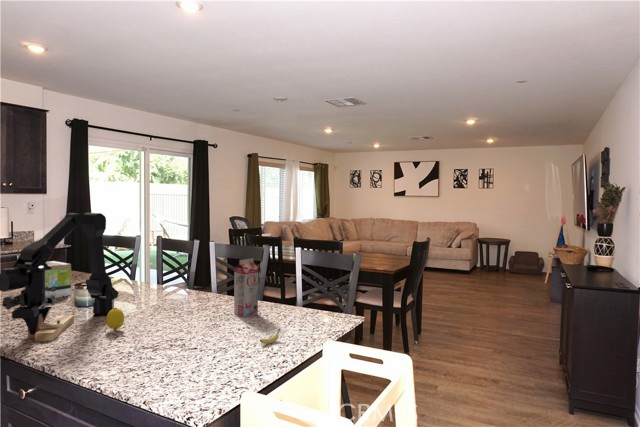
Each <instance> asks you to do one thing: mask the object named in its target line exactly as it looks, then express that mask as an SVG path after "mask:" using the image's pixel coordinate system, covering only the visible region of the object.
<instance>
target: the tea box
mask: <svg viewBox="0 0 640 427" xmlns="http://www.w3.org/2000/svg"><path fill="white" fill-rule="evenodd" d="M46 264H47V265H48V266H50V267H51V268H52V269H51V270H45V287H47V286H48V290H46V291H45V295H46V296H52V295H53V296H54V297H55V298H56V299H58V298H63V296H64V297H68V295H69V296H72V264H71V263H67V262H62V261H57V260H52V261H47V262H46Z"/></svg>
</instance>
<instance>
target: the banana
mask: <svg viewBox="0 0 640 427" xmlns="http://www.w3.org/2000/svg"><path fill="white" fill-rule="evenodd" d="M280 332H281V328H280V327H279V328H278V330H277V333H275V334H274V335H273V336H271V337H268V338H261V339H260V338H259V342H260V343H261V344H263V345H269V344H272V343H274V342H275V343H276V342H277V340H278V339H279V337H280V336H279V333H280Z"/></svg>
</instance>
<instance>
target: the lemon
mask: <svg viewBox="0 0 640 427" xmlns="http://www.w3.org/2000/svg"><path fill="white" fill-rule="evenodd" d="M124 322H125V314H124V311H122V310H121V309H120V308H117V307H114V309H112V310H110V311H109V313H108V315H107V316H106V324H107V327H108V328H109V329H112V330H113V331H117V330H119V329H120V328H122V326H123V325H124Z"/></svg>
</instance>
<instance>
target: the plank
mask: <svg viewBox="0 0 640 427" xmlns="http://www.w3.org/2000/svg"><path fill="white" fill-rule="evenodd" d="M57 320H60V322H62V326H61V327H60V328H44V329H40V330H39V331H38V332H36V333H35V338H34V341H35V342H44V341H54V340H55V339H56V338H57V337H58V336H60V334H62V333H63V332H64V331H65V330H66V329H68V326H69V325H70V326H71V325H72V324H74V322H75V315H74V314H67V315H65V314H64V315H63V314H62V315H58V316H56V317H55V318H53V319H52V320H51V321H50V322H49V323H57ZM70 326H69V327H70Z"/></svg>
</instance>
